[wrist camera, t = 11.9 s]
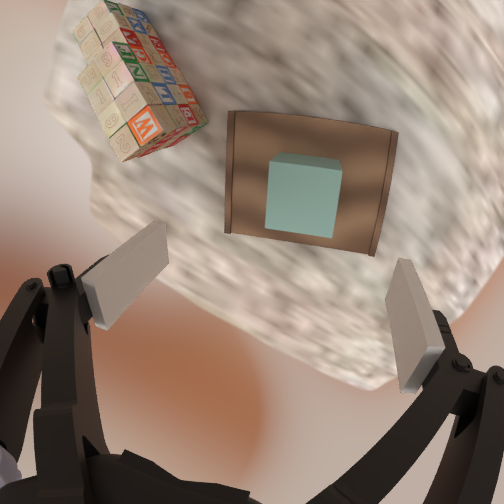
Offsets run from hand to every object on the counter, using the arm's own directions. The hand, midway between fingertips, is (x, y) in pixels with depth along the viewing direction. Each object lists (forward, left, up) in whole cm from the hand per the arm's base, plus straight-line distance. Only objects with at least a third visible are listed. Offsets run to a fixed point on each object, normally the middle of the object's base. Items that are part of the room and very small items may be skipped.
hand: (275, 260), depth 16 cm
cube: (+1, 0, -21) cm, 21 cm away
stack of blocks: (-13, -21, -23) cm, 34 cm away
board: (+1, 0, -23) cm, 23 cm away
